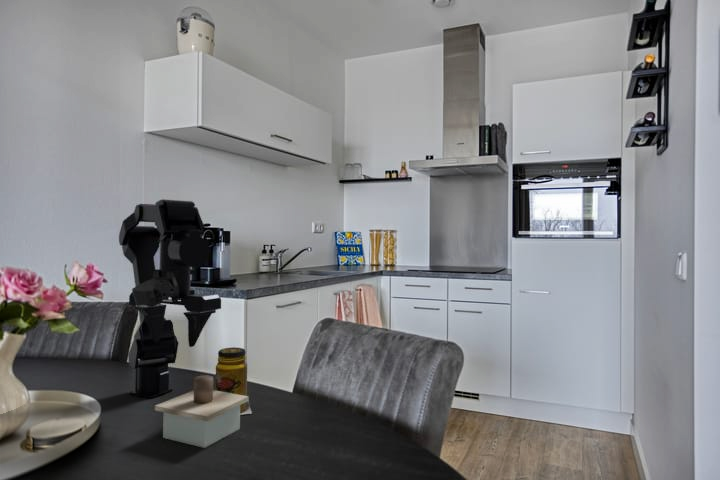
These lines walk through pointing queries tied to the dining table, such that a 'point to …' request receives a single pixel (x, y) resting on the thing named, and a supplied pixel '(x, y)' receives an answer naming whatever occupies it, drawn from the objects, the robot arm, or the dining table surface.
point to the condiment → (233, 374)
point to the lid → (202, 401)
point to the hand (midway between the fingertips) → (173, 343)
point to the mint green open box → (200, 428)
